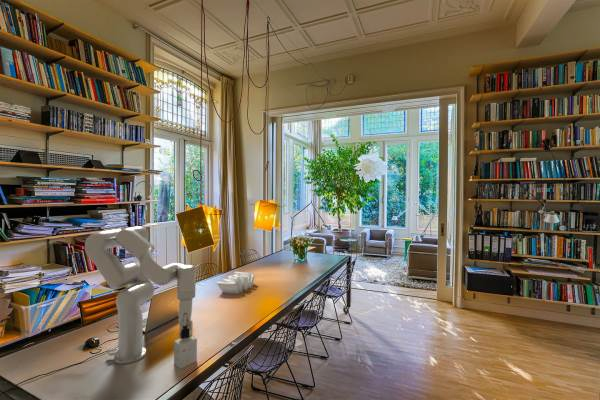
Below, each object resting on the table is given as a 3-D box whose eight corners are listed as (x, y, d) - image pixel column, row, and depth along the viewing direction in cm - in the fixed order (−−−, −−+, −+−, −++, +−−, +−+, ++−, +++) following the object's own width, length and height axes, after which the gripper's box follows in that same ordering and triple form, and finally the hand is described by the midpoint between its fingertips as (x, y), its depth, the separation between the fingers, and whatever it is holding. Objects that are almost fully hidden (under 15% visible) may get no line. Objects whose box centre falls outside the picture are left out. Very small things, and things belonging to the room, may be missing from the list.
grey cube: (178, 340, 124) (178, 326, 123) (179, 333, 129) (179, 320, 129) (192, 338, 125) (192, 324, 125) (192, 332, 131) (192, 319, 130)
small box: (190, 356, 132) (190, 333, 132) (197, 361, 129) (197, 338, 128) (173, 364, 126) (173, 340, 126) (179, 369, 123) (180, 345, 122)
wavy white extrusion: (232, 297, 206) (232, 283, 205) (214, 293, 213) (214, 279, 212) (259, 284, 237) (259, 271, 237) (242, 281, 244) (242, 268, 244)
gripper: (178, 288, 133) (178, 326, 134) (175, 301, 117) (174, 345, 118) (195, 286, 136) (195, 324, 136) (194, 300, 120) (194, 343, 120)
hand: (185, 333), depth 127 cm, fingers closed on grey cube, 5 cm apart
